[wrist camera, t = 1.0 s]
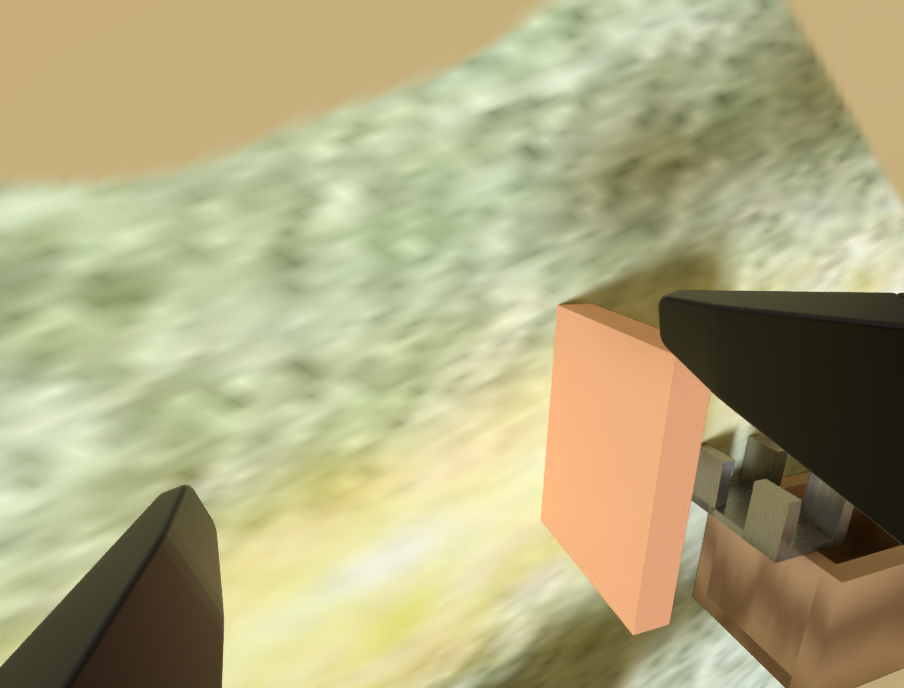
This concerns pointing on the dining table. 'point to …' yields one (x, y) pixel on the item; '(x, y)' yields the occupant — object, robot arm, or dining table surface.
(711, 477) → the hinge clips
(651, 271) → the dining table surface
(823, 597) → the cabinet
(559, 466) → the cabinet door
